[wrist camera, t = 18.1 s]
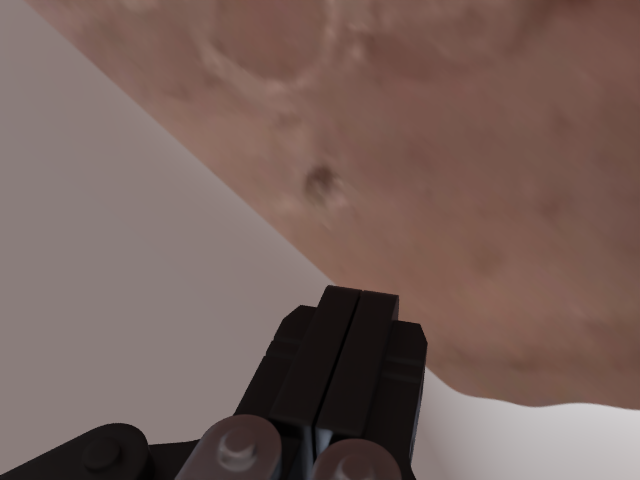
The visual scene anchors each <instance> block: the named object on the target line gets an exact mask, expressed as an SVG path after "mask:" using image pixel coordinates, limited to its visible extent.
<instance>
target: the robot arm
mask: <svg viewBox="0 0 640 480" xmlns="http://www.w3.org/2000/svg"><path fill="white" fill-rule="evenodd" d="M398 311H399V295H393V294H386V293H380V292H373V291H366V290H364V291H362V290H359V289H352V288H345V287H339V286H332V285H328V286H327V287H326V289H325V291H324V293H323V295H322V297H321V300H320V302H319V304H318V307H311V306H305V305H300V306H299V307H297V308H296V309H295V310H294V311H292V312H291V313H290V314H289V315H288V316H286V317H285V318H284V319H283V320H282V322H281V324H280V326H279V328H278V330H277V332H276V334H275V336H274V340H273V341H272V342H271V344H270V345H269V347H268V349H267V351H266V356H264V357H263V359H262V361H261V363H260V365H259V367H258V369H257V370H256V372H255V375H254V376H253V378H252V380H251V382H250V384H249V386H248V388H247V390H246V392H245V394H244V396H243V398H242V400H241V402H240V403H239V405H238V407H237V409H236V411H235V413H234V414H233V416H230V417H228V418H225V419H223V420H221V421H219V422H217V423H216V424H214V425H213V426H211V427H210V428H209V429H208V430H207V431H206V432H205V434H204V435H203V437H202V438H201V439H198V440H194V441H189V442H180V443H167V444H154V445H148V443H147V440H146V437H145V435H144V434H143V433H142V432H141V431H140V430H139V429H138V428H136V427H134V426H132V425H129V424H124V423H112V424H106V425H103V426H100V427H97V428H95V429H92V430H90V431H88V432H86V433H84V434H82V435H80V436H78V437H76V438H74V439H72V440H70V441H68V442H66V443H64V444H62V445H60V446H58V447H56V448H54V449H52V450H50V451H48V452H46V453H44V454H42V455H40V456H38V457H36V458H34V459H32V460H30V461H28V462H26V463H24V464H22V465H20V466H18V467H16V468H14V469H12V470H10V471H8V472H6V473H4V474H2V475H0V480H416V478H415V476H414V474H413V472H412V469H411V461H412V455H413V449H414V443H415V436H416V431H417V425H418V418H419V412H420V406H421V400H422V393H423V383H424V373H425V364H426V354H427V344H428V343H427V341H426V338H425V335H424V333H423V330H422V328H421V325H420V324H417V323H411V322H405V321H399V320H398Z"/></svg>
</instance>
